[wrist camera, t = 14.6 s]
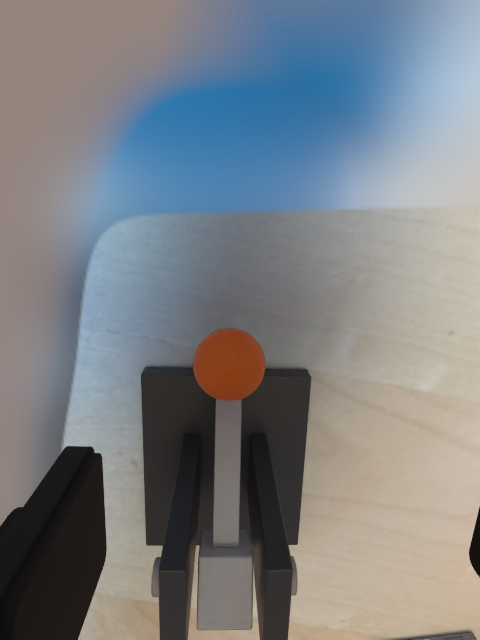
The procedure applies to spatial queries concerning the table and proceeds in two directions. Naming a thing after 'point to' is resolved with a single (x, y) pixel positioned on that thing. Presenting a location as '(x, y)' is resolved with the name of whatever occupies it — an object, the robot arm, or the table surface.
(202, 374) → the switch lever
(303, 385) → the lever base
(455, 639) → the smartphone
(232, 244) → the table surface
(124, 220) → the table surface
